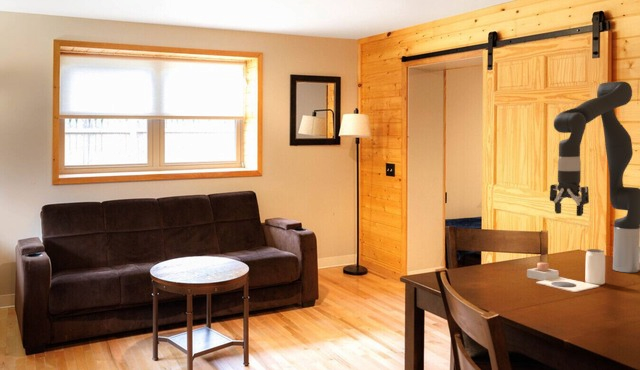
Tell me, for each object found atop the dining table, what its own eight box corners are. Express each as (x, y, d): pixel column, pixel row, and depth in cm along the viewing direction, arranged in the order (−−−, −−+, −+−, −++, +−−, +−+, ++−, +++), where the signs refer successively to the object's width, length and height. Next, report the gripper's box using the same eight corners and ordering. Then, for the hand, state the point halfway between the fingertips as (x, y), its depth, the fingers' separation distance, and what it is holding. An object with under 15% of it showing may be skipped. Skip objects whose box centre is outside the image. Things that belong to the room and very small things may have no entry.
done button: (541, 272, 235) (541, 262, 235) (550, 274, 232) (550, 263, 231) (534, 273, 233) (535, 263, 233) (543, 275, 230) (544, 265, 229)
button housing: (540, 274, 238) (540, 266, 238) (558, 278, 231) (558, 270, 231) (526, 277, 234) (527, 269, 233) (544, 281, 227) (544, 273, 227)
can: (606, 285, 220) (607, 252, 219) (587, 285, 221) (588, 252, 220) (602, 281, 226) (602, 249, 225) (583, 280, 227) (583, 248, 227)
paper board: (560, 278, 232) (560, 277, 232) (599, 286, 218) (599, 285, 218) (535, 283, 224) (535, 281, 224) (574, 292, 211) (574, 290, 211)
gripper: (593, 169, 214) (593, 215, 216) (558, 167, 226) (558, 211, 228) (580, 170, 210) (579, 217, 212) (545, 169, 222) (544, 213, 224)
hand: (568, 214), depth 220 cm, fingers open, 8 cm apart
